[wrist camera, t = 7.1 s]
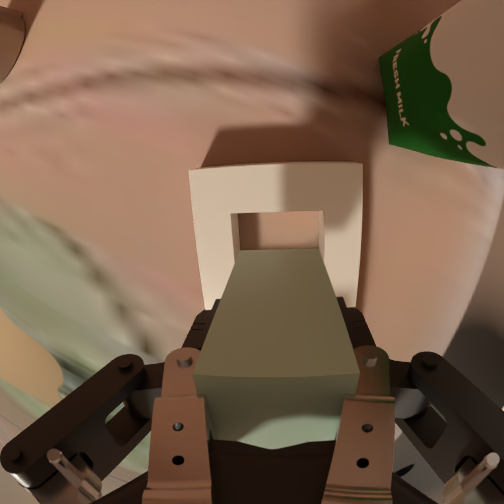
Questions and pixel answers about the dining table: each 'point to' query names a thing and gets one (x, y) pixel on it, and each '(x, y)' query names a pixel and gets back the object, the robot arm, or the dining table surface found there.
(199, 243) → the white plate with window
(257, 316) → the green plug
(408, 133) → the milk carton
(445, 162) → the dining table surface
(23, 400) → the dining table surface
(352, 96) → the dining table surface
